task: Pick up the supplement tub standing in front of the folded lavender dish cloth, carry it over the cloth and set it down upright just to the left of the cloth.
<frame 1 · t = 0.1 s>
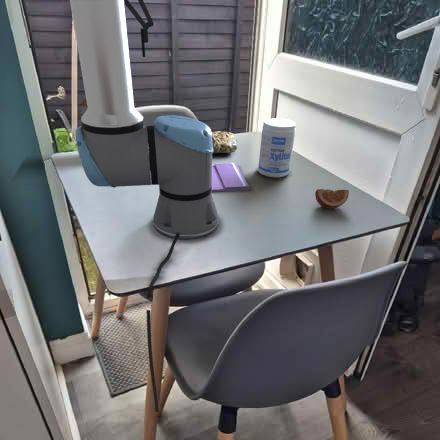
hand: (119, 56, 110), 28 cm above the table, tool pointing down, fingers open, 13 cm apart
ceramic vessel: (115, 157, 126), on the table
supplement tub: (273, 173, 119), on the table
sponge: (207, 154, 131), on the table
fruit slice: (329, 208, 102), on the table
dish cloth: (220, 178, 114), on the table
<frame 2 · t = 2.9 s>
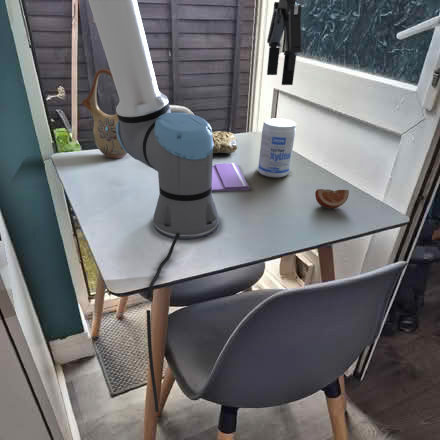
hand: (279, 79, 104), 25 cm above the table, tool pointing down, fingers open, 13 cm apart
nothing on the table moved.
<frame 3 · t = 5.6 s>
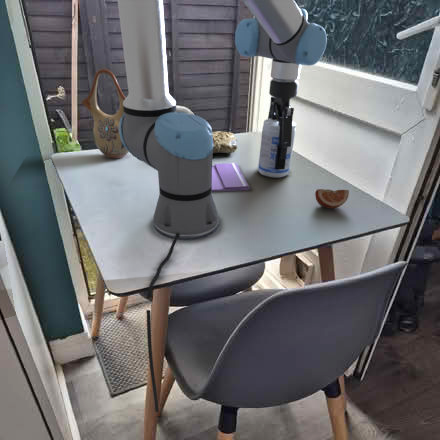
hand: (274, 162, 117), 3 cm above the table, tool pointing down, fingers closed on supplement tub, 10 cm apart
supplement tub: (273, 173, 119), on the table, touching gripper
everything else where it was.
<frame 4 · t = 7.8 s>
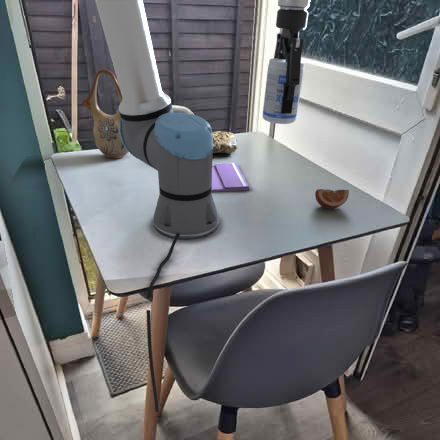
hand: (280, 108, 108), 18 cm above the table, tool pointing down, fingers closed on supplement tub, 10 cm apart
supplement tub: (278, 121, 110), point 15 cm above the table, touching gripper
everything else where it was.
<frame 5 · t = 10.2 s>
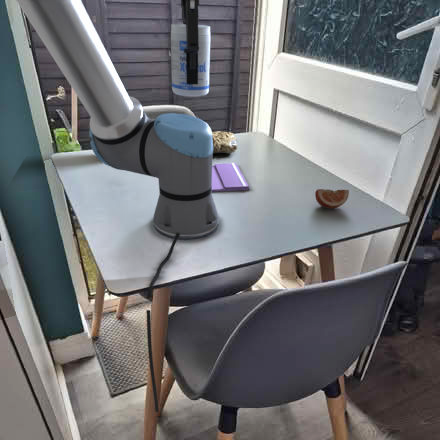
hand: (190, 80, 99), 25 cm above the table, tool pointing down, fingers closed on supplement tub, 10 cm apart
supplement tub: (190, 94, 101), point 22 cm above the table, touching gripper
everything else where it was.
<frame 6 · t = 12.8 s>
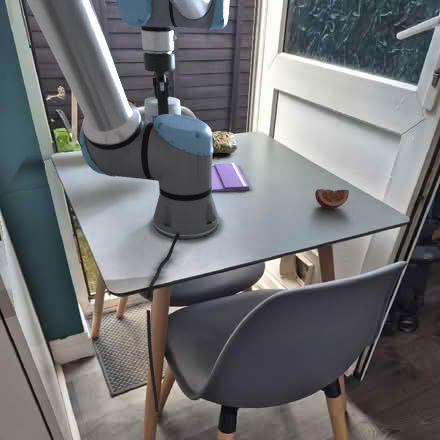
hand: (164, 145, 108), 9 cm above the table, tool pointing down, fingers closed on supplement tub, 10 cm apart
supplement tub: (165, 157, 110), point 6 cm above the table, touching gripper
everything else where it was.
when the fingers open (3 cm above the table, at t = 14.8 s): supplement tub stays where it is, on the table.
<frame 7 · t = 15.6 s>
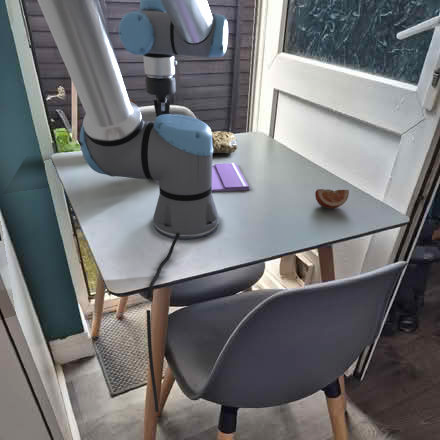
hand: (164, 160, 110), 5 cm above the table, tool pointing down, fingers open, 13 cm apart
supplement tub: (166, 178, 114), on the table
everything else where it was.
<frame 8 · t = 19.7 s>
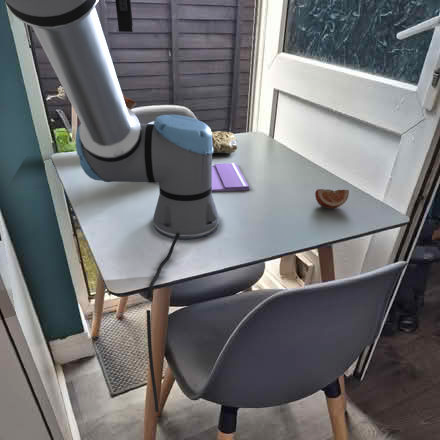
hand: (126, 28, 83), 37 cm above the table, tool pointing down, fingers open, 13 cm apart
nothing on the table moved.
at the end: supplement tub inside the target area on the table beside the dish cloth (2.2 cm from its centre), on the table; supplement tub tilted 0°; the gripper is holding nothing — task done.
